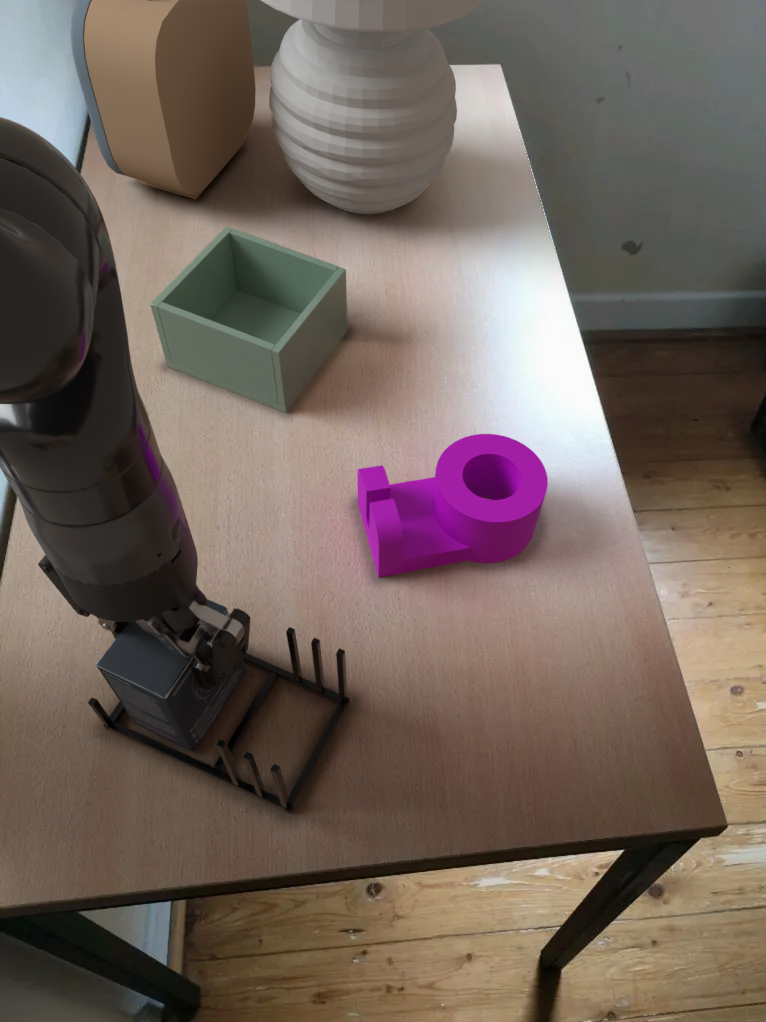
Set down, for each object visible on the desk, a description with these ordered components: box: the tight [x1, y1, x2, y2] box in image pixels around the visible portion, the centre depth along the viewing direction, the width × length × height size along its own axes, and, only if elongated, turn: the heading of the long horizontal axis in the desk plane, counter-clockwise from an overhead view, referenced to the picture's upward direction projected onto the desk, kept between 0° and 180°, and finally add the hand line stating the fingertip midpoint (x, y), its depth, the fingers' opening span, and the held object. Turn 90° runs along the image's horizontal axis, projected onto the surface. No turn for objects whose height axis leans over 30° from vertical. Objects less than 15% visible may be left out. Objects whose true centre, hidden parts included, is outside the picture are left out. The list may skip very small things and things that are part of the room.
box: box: [95, 598, 248, 752], centre depth 59 cm, size 8×6×11 cm
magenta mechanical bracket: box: [357, 433, 549, 578], centre depth 72 cm, size 16×10×6 cm, turn 106°
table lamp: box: [260, 0, 484, 215], centre depth 83 cm, size 25×25×40 cm
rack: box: [87, 626, 351, 814], centre depth 60 cm, size 16×10×9 cm, turn 67°
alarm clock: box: [70, 0, 257, 200], centre depth 90 cm, size 21×10×22 cm, turn 162°
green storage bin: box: [149, 226, 348, 414], centre depth 81 cm, size 14×14×8 cm
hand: (175, 660), depth 58 cm, fingers closed on box, 5 cm apart
